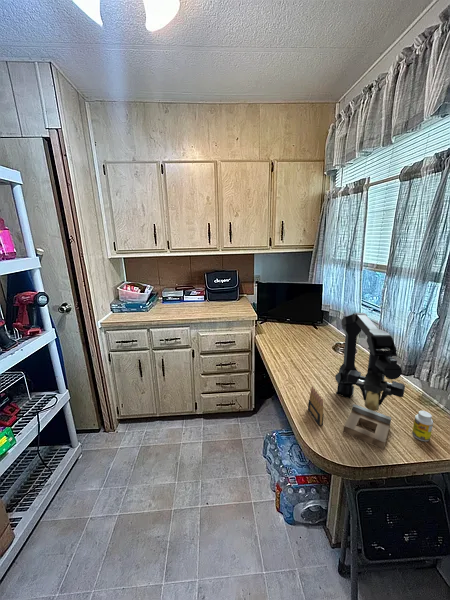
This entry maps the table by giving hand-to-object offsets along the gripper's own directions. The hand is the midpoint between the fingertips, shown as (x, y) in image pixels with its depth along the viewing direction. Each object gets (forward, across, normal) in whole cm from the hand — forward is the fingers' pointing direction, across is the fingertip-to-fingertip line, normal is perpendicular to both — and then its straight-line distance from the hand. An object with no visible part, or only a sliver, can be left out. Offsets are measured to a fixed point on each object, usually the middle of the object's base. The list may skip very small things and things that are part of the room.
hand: (372, 402), depth 100 cm
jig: (+13, -1, -1) cm, 13 cm away
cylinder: (+2, 0, 0) cm, 2 cm away
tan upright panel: (+13, -20, -5) cm, 24 cm away
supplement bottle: (+13, +16, +9) cm, 23 cm away
